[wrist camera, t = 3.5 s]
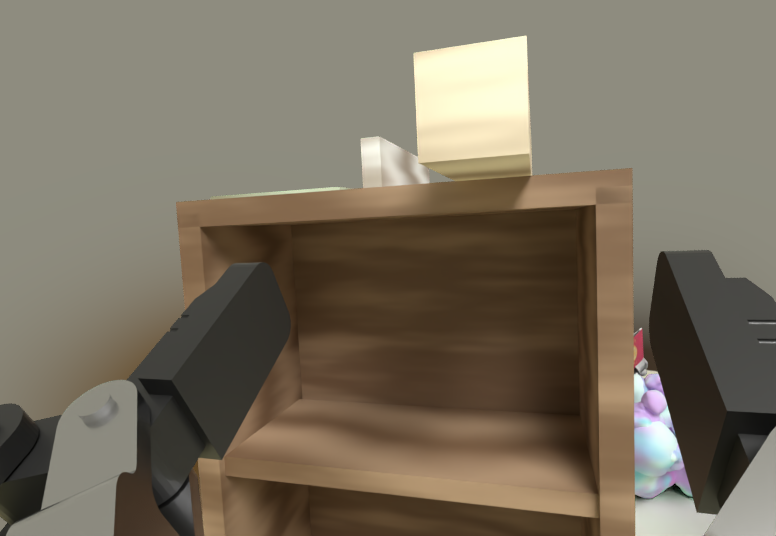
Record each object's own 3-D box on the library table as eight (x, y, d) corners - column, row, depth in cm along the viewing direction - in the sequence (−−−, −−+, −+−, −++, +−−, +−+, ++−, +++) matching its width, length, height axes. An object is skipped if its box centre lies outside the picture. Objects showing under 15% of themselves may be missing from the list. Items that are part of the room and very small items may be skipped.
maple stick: (486, 196, 39) (485, 151, 39) (532, 193, 38) (531, 147, 38) (418, 163, 16) (413, 52, 16) (529, 153, 15) (526, 35, 15)
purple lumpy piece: (769, 522, 40) (757, 316, 46) (503, 464, 49) (524, 300, 56) (726, 524, 56) (721, 372, 63) (533, 481, 66) (546, 353, 72)
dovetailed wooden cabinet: (304, 578, 43) (276, 176, 40) (604, 631, 36) (597, 148, 33) (219, 710, 31) (172, 158, 28) (637, 825, 24) (631, 109, 21)
